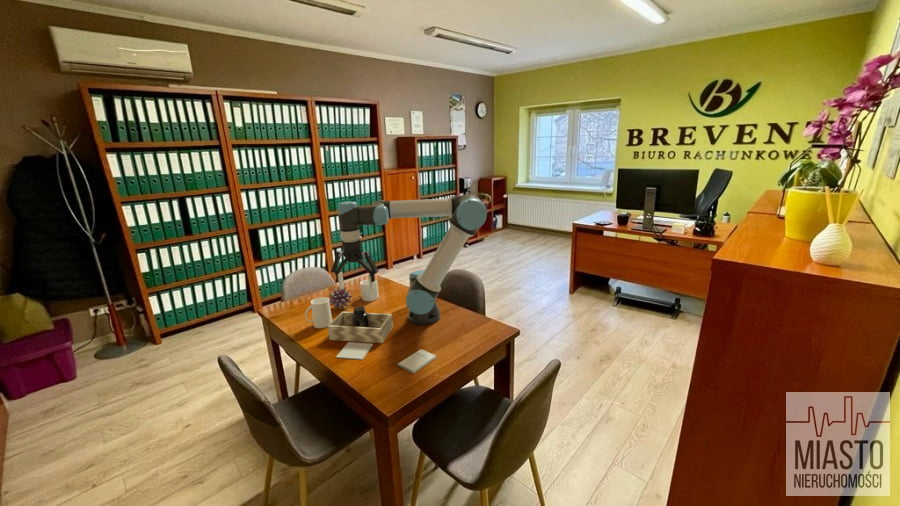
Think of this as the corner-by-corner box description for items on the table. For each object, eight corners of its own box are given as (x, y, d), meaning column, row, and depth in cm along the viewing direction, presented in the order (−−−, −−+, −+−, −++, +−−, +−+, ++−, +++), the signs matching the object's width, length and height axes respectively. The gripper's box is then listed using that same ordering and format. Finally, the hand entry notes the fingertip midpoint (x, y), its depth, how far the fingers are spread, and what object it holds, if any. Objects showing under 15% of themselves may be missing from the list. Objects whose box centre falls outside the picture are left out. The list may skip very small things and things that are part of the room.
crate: (393, 326, 163) (391, 314, 161) (382, 343, 150) (381, 329, 148) (343, 324, 167) (342, 311, 166) (329, 339, 154) (327, 326, 152)
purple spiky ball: (329, 305, 188) (326, 284, 184) (353, 302, 191) (350, 281, 187) (328, 314, 177) (325, 292, 174) (353, 311, 180) (351, 289, 177)
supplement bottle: (371, 329, 162) (368, 304, 159) (368, 336, 156) (365, 311, 152) (355, 329, 162) (353, 305, 159) (352, 337, 155) (349, 312, 152)
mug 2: (382, 298, 195) (380, 282, 192) (367, 302, 189) (365, 286, 187) (371, 291, 204) (369, 276, 201) (356, 296, 198) (354, 280, 196)
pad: (373, 344, 149) (373, 343, 149) (362, 359, 139) (362, 358, 139) (348, 342, 151) (348, 342, 151) (336, 357, 141) (336, 356, 141)
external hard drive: (398, 366, 135) (420, 352, 144) (413, 374, 130) (436, 358, 139) (397, 363, 134) (420, 348, 143) (413, 370, 129) (436, 355, 138)
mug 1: (309, 332, 161) (305, 308, 157) (304, 325, 167) (300, 302, 164) (335, 324, 168) (332, 300, 164) (329, 317, 174) (325, 295, 171)
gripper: (383, 238, 148) (387, 285, 154) (327, 237, 152) (333, 283, 158) (376, 242, 141) (381, 292, 147) (318, 241, 145) (325, 290, 151)
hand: (356, 288), depth 153 cm, fingers open, 13 cm apart
